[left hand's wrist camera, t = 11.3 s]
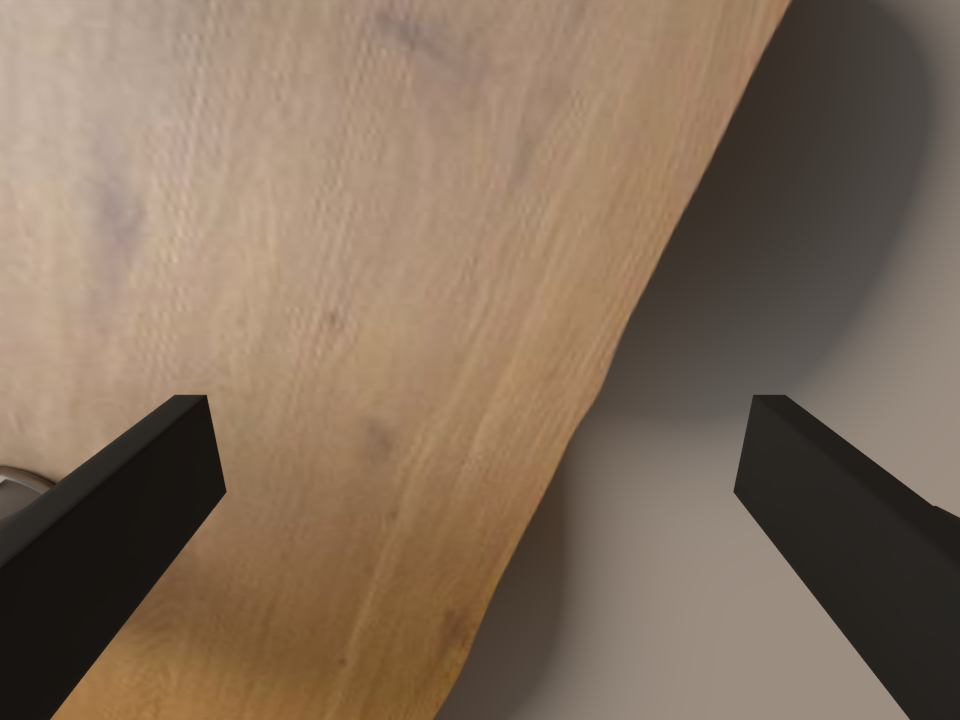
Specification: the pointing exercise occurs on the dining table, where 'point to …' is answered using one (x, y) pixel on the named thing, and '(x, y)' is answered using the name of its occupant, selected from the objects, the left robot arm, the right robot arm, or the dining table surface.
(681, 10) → the dining table surface
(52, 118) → the dining table surface
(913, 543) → the left robot arm
